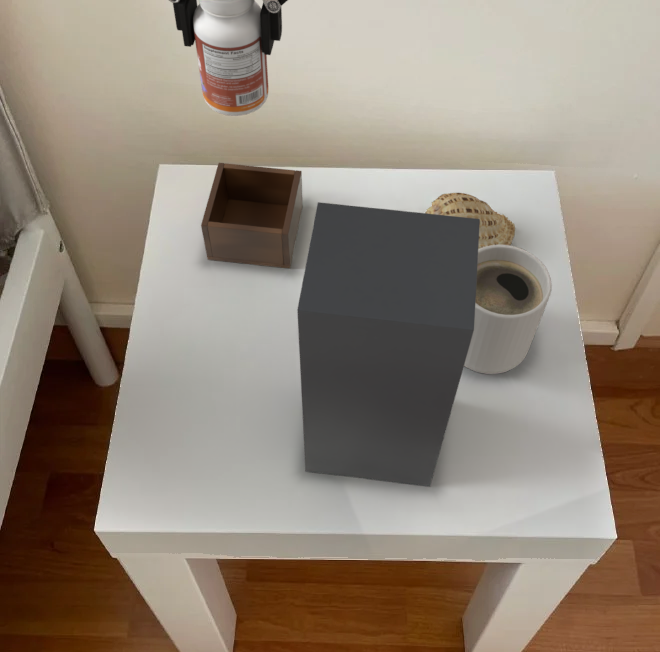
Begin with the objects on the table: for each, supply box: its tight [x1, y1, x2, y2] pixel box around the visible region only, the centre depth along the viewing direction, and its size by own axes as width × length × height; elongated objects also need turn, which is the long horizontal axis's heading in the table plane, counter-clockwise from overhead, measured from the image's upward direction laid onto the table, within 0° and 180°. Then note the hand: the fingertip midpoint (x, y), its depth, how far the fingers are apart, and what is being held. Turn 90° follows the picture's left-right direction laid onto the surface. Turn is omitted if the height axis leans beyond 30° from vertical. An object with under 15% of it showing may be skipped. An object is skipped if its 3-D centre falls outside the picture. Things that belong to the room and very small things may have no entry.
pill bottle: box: [193, 0, 269, 117], centre depth 71 cm, size 6×6×11 cm
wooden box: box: [200, 162, 304, 269], centre depth 90 cm, size 9×9×6 cm
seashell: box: [424, 192, 516, 249], centre depth 90 cm, size 8×6×10 cm
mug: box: [464, 245, 553, 375], centre depth 81 cm, size 11×10×10 cm
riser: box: [296, 201, 480, 488], centre depth 68 cm, size 12×10×26 cm
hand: (230, 39), depth 70 cm, fingers closed on pill bottle, 6 cm apart
